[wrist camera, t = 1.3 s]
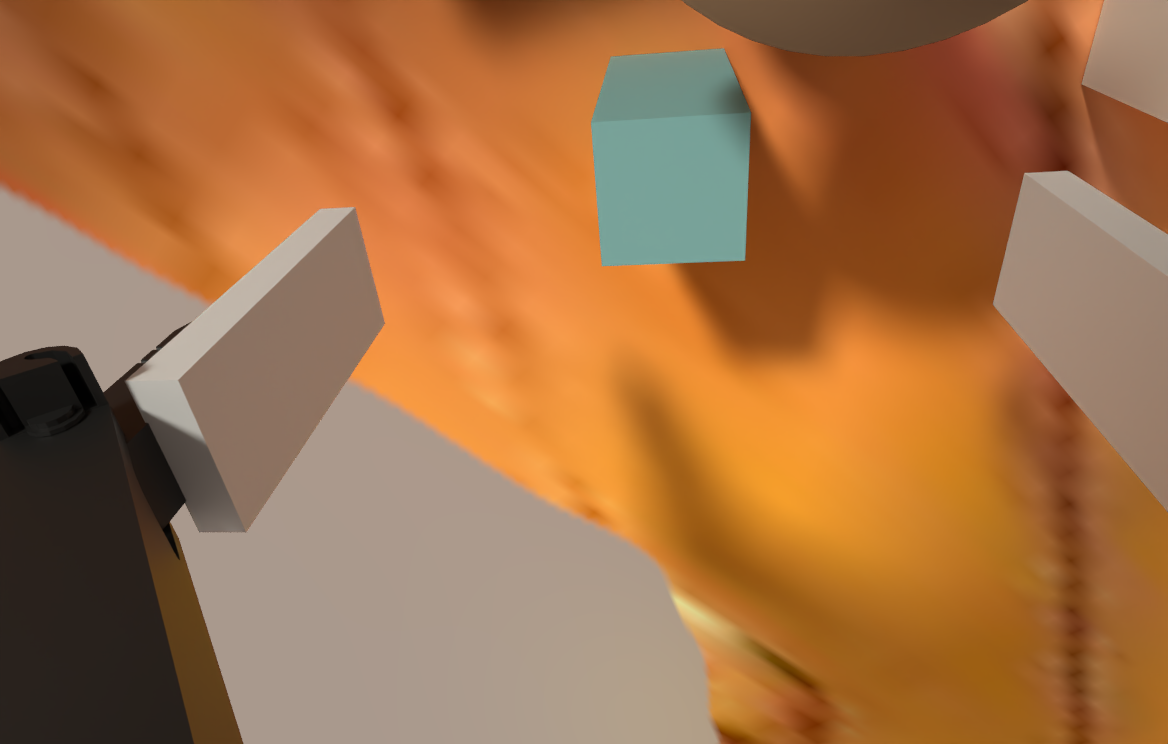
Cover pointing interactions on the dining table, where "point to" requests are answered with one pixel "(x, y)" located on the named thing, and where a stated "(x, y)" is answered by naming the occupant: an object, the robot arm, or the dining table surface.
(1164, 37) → the notched board
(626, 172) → the block
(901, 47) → the door knob
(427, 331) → the dining table surface
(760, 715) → the dining table surface
